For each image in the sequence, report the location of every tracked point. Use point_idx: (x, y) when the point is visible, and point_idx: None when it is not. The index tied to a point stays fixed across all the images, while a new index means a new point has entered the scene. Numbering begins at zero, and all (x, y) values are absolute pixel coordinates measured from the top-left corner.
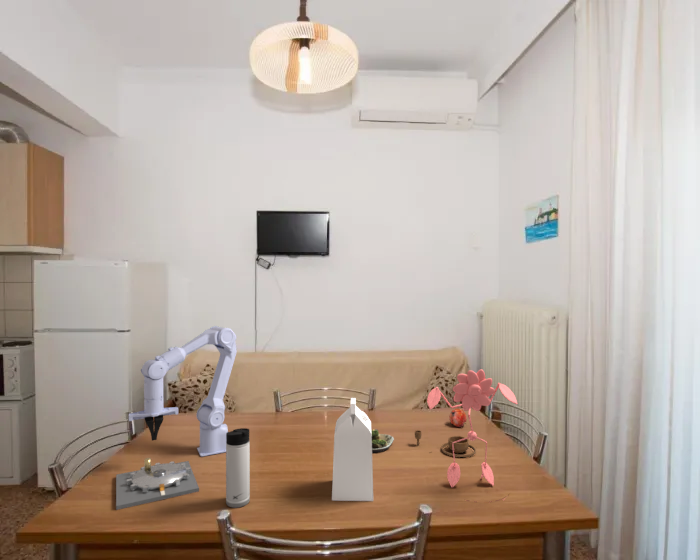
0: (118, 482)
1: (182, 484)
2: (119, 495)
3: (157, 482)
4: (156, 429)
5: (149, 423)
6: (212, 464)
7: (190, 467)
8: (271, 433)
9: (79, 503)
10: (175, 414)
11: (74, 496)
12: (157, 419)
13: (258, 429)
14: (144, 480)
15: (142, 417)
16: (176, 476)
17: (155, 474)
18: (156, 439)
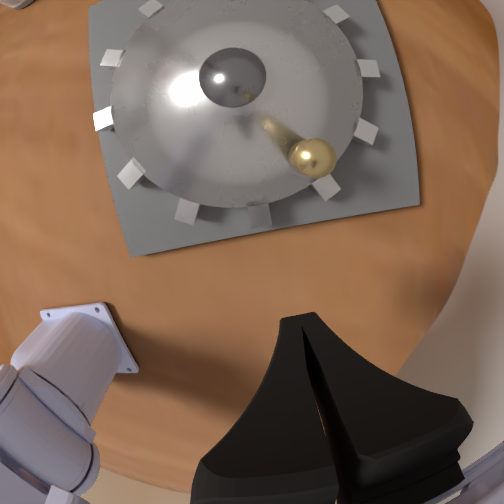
0: (404, 118)
1: (136, 24)
2: (371, 10)
3: (233, 2)
4: (291, 375)
5: (418, 413)
6: (55, 221)
7: (110, 181)
8: None
9: (463, 59)
10: (71, 493)
11: (485, 114)
12: (294, 494)
13: None
14: (298, 33)
15: (479, 472)
16: (150, 39)
17: (250, 51)
18: (281, 321)
